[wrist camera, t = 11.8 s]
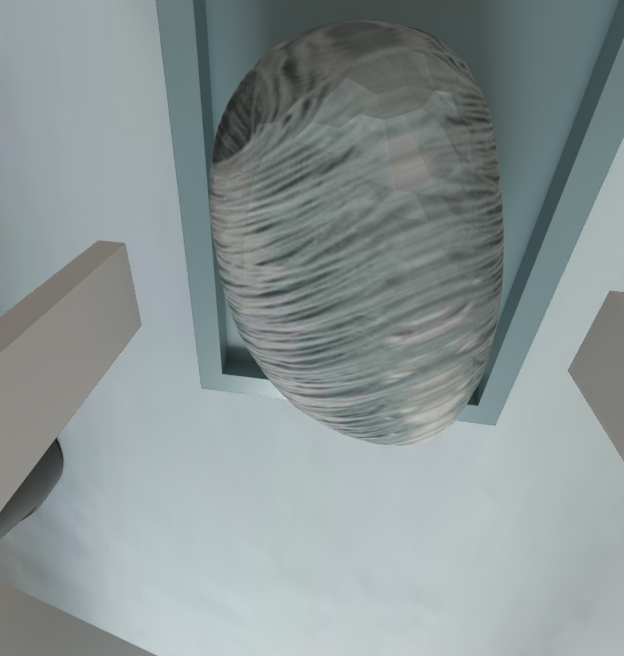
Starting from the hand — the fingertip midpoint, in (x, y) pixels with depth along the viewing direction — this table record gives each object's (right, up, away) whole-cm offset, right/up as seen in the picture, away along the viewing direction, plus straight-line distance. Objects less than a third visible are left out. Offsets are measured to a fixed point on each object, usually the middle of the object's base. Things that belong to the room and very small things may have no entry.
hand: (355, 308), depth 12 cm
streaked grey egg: (+1, +4, +6) cm, 7 cm away
